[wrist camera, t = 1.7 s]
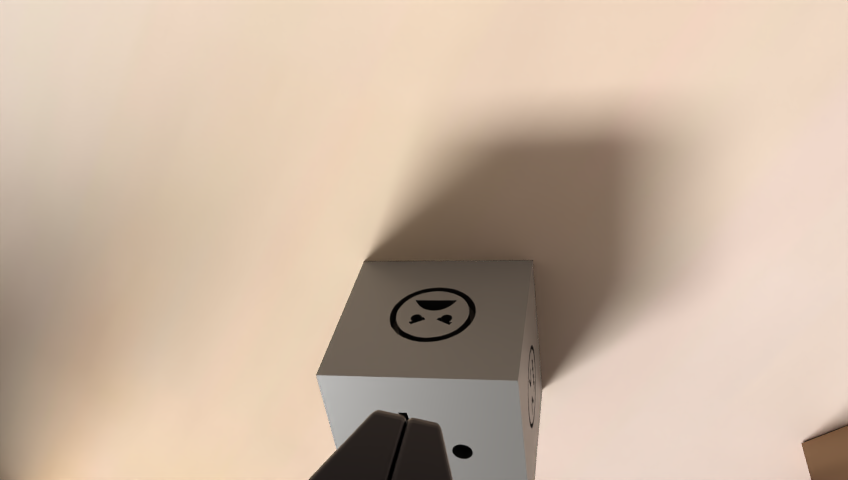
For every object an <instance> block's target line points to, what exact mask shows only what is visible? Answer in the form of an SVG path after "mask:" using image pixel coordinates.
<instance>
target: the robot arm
mask: <svg viewBox="0 0 848 480" xmlns="http://www.w3.org/2000/svg"><path fill="white" fill-rule="evenodd" d="M406 422H407V423H406ZM309 480H453V477H452V473H451V469H450V464H449V460H448V455H447V451H446V446H445V442H444V437H443V433H442V429H441V427H440V425H439V424H438V423H435V422H431V421H427V420H422V419H418V418H410V419H409V420H408V421H407V420H406V418H405V417H404V416H403V415H400V414H395V413H391V412H386V411H382V410H377V411H374V412H373V413H371V414H370V415H369V416H368V417H367V418H366V420H365V421H364V422H363V423H362V424H361V425H360V426H359V427H358V428H357V429H356V430H355V431H354V432H353V433H352V434H351V435H350V436H349V437H348V439H347V440H346V441H345V442H344V443H343V444H342V445H341V446H340V447H339V448H338V449H337V450H336V451H335V452H334V453H333V454H332V455H331V456H330V457H329V459H328V460H327V461H326V462H325V463H324V464H323V465H322V466H321V467H320V468H319V469H318V470H317V471H316V472H315V473H314V474H313V475H312V476H311V478H310V479H309Z"/></svg>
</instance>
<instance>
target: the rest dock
mask: <svg viewBox="0 0 848 480" xmlns="http://www.w3.org/2000/svg"><path fill="white" fill-rule="evenodd" d="M802 447H803V451H804V454H805V458H806V462H807V465H808V469H809V473H810V476H811V480H848V426H845V427H843V428H840V429H838V430H835V431H832V432H830V433H827V434H825V435H822V436H819V437H817V438H814V439H812V440H809V441H807V442H804V443H802Z"/></svg>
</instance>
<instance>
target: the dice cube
mask: <svg viewBox="0 0 848 480" xmlns="http://www.w3.org/2000/svg"><path fill="white" fill-rule="evenodd" d="M316 376H317V380H318V384H319V387H320V391H321V395H322V398H323V402H324V405H325V409H326V413H327V416H328V420H329V424H330V427H331V431H332V434H333V438H334V442H335V445H336V449H338V448H339V447H340V446H341V445H342V444H343V443H344V442H345V441H346V440H347V439H348V437H349V436H350V435H351V434H352V433H353V432H354V431H355V430H356V429H357V428H358V427H359V426H360V425H361V424H362V423H363V422H364V421H365V420H366V418H367V417H368V416H369V415H370V414H371V413H373V412H374V411H377V410H382V411H386V412H391V413H395V414H400V415H403V416H404V417H405V418H406V420H407V421H408V420H409V419H410V418H418V419H422V420H427V421H431V422H435V423H438V424H439V425H440V427H441V429H442V433H443V437H444V442H445V446H446V451H447V455H448V460H449V464H450V469H451V473H452V477H453V480H535V469H536V457H537V446H538V434H539V422H540V410H541V399H542V380H541V366H540V352H539V339H538V325H537V312H536V298H535V284H534V271H533V260H500V261H364V263H363V265H362V268H361V270H360V272H359V275H358V277H357V280H356V282H355V284H354V287H353V289H352V291H351V294H350V296H349V298H348V301H347V303H346V306H345V308H344V310H343V313H342V315H341V317H340V320H339V322H338V325H337V327H336V329H335V332H334V334H333V336H332V339H331V341H330V344H329V346H328V348H327V351H326V353H325V355H324V358H323V360H322V363H321V365H320V367H319V370H318V372H317V374H316ZM406 423H407V422H406Z"/></svg>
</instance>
